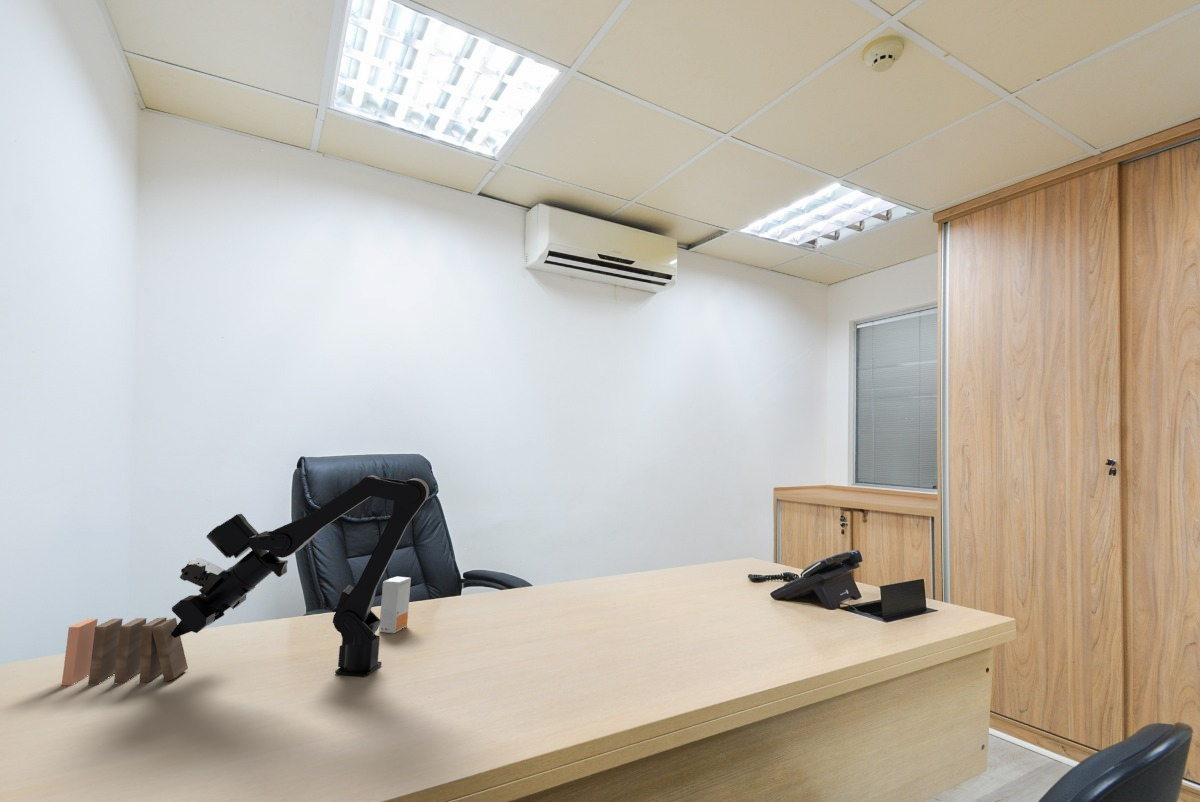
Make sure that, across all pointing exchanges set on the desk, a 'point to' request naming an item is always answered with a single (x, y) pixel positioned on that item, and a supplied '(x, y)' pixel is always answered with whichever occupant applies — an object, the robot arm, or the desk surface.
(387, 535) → the robot arm
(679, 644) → the desk surface
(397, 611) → the skincare box
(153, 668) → the domino
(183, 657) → the domino
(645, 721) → the desk surface
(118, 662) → the domino
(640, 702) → the desk surface
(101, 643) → the domino
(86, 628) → the domino
